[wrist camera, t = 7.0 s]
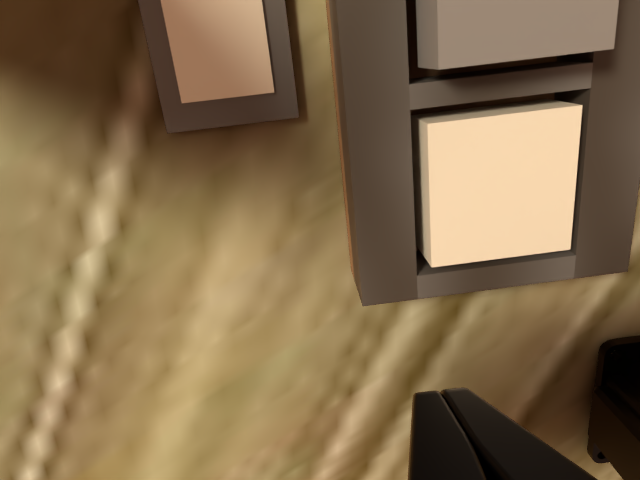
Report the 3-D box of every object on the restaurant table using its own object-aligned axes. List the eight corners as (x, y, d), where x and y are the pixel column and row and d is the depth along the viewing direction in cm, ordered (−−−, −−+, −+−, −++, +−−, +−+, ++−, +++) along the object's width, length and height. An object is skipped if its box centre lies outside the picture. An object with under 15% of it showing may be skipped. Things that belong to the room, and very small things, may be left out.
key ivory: (547, 98, 16) (582, 105, 14) (539, 228, 18) (570, 249, 16) (410, 115, 16) (427, 124, 14) (415, 244, 17) (431, 267, 16)
